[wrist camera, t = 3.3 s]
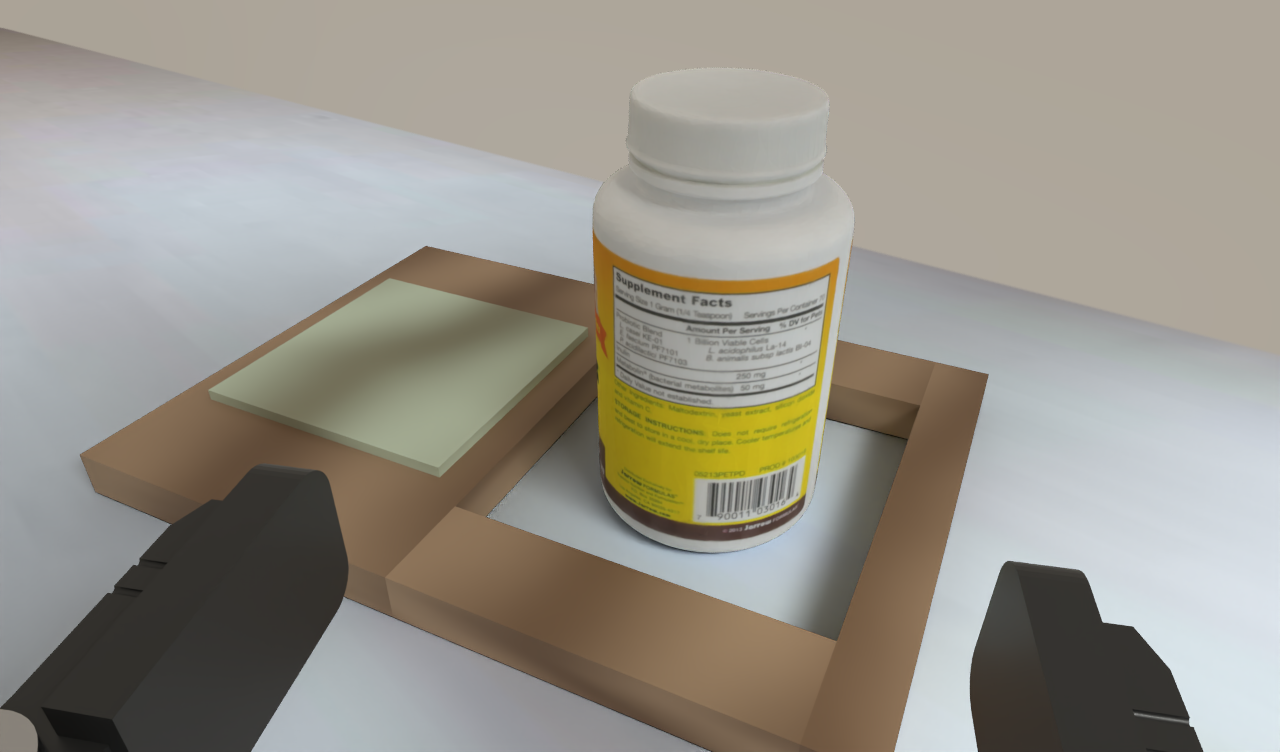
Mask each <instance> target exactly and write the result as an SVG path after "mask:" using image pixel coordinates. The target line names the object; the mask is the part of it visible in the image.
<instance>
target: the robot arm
mask: <svg viewBox="0 0 1280 752" xmlns="http://www.w3.org/2000/svg"><path fill="white" fill-rule="evenodd" d="M348 572H349V565H348V557H347V553H346V548H345V544H344V540H343V536H342V532H341V528H340V523H339V519H338V515H337V511H336V507H335V502H334V498H333V494H332V490H331V486H330V483H329V480H328V478H327V476H326V475H325V474H324V473H323V472H322V471H319V470H313V469H305V468H297V467H289V466H281V465H273V464H266V463H263V464H258V465H256V466H254V467H253V468H251V469H250V470H249V471H248V472H247V473H246V475H245V476H244V477H243V478H242V479H241V480H240V481H239V483H238V484H237V485H236V486H235V487H234V488H233V489H232V490H231V492H230V493H229V494H228V495H227V496H226V497H225V498H224V500H223V501H222V500H215V499H211V500H210V501H208V502H206V503H205V504H203V505H202V506H200V507H199V508H197V509H195V510H194V511H192V512H191V513H189V514H187V515H186V516H184V517H183V518H181V519H180V520H178V521H176V522H175V523H173V524H172V525H170V526H169V527H168V528H167V529H166V530H165V532H164V533H163V534H162V535H161V536H160V537H159V538H158V539H157V540H156V541H155V542H154V543H153V544H152V546H151V547H150V548H149V549H148V550H147V551H146V552H145V553H144V554H143V555H142V556H141V557H140V562H139V564H138V565H137V566H136V565H133V566H132V567H131V568H130V569H129V570H128V571H127V573H126V574H125V575H124V576H123V577H122V578H121V579H120V580H119V581H118V582H117V583H116V584H115V586H114V591H113V593H112V594H111V593H107V594H106V595H105V596H104V597H103V599H102V600H101V601H100V602H99V603H98V604H97V605H96V606H95V607H94V608H93V609H92V610H91V611H90V613H89V614H88V615H87V616H86V617H85V618H84V619H83V620H82V621H81V622H80V623H79V624H78V626H77V627H76V628H75V629H74V630H73V631H72V632H71V633H70V634H69V635H68V636H67V637H66V638H65V640H64V641H63V642H62V643H61V644H60V645H59V646H58V647H57V648H56V649H55V650H54V651H53V653H52V654H51V655H50V656H49V657H48V658H47V659H46V660H45V661H44V662H43V663H42V664H41V665H40V667H39V668H38V669H37V670H36V671H35V672H34V673H33V674H32V675H31V676H30V677H29V678H28V680H27V681H26V682H25V683H24V684H23V685H22V686H21V687H20V688H19V689H18V690H17V691H16V693H15V694H14V695H13V696H12V697H11V698H10V699H9V700H8V701H7V702H6V703H5V704H4V705H3V706H2V707H1V708H0V752H251V750H252V749H253V747H254V746H255V744H256V742H257V741H258V739H259V737H260V736H261V734H262V733H263V731H264V729H265V728H266V726H267V724H268V723H269V721H270V720H271V718H272V716H273V715H274V713H275V711H276V710H277V708H278V707H279V705H280V703H281V702H282V700H283V698H284V697H285V695H286V694H287V692H288V690H289V689H290V687H291V685H292V684H293V682H294V681H295V679H296V677H297V676H298V674H299V672H300V671H301V669H302V668H303V666H304V664H305V663H306V661H307V659H308V658H309V656H310V655H311V653H312V651H313V650H314V648H315V646H316V645H317V643H318V642H319V640H320V638H321V637H322V635H323V633H324V632H325V630H326V629H327V627H328V625H329V624H330V622H331V620H332V619H333V617H334V616H335V614H336V612H337V610H338V609H339V607H340V605H341V602H342V600H343V597H344V594H345V590H346V587H347V581H348ZM970 703H971V711H972V718H973V724H974V730H975V736H976V742H977V748H978V752H1203V749H1202V747H1201V744H1200V742H1199V740H1198V737H1197V735H1196V732H1195V730H1194V727H1190V725H1189V718H1190V717H1189V715H1188V712H1187V710H1186V707H1185V705H1184V702H1183V700H1182V697H1181V695H1180V692H1179V690H1178V688H1177V685H1176V683H1175V680H1174V678H1173V675H1172V673H1171V670H1170V669H1169V668H1168V667H1167V665H1166V664H1165V663H1164V662H1163V661H1162V660H1161V659H1160V657H1159V656H1158V655H1157V654H1156V653H1155V652H1154V650H1153V649H1152V648H1151V647H1150V646H1149V645H1148V644H1147V642H1146V641H1145V640H1144V639H1143V638H1142V637H1141V635H1140V634H1139V633H1138V632H1137V631H1136V630H1135V629H1134V627H1132V626H1125V625H1117V624H1110V623H1103V622H1102V620H1101V617H1100V614H1099V611H1098V608H1097V605H1096V602H1095V599H1094V596H1093V593H1092V590H1091V588H1090V585H1089V582H1088V580H1087V578H1086V576H1085V574H1084V573H1083V572H1082V571H1080V570H1076V569H1068V568H1060V567H1052V566H1045V565H1037V564H1029V563H1021V562H1013V561H1007V562H1006V563H1005V564H1004V565H1003V566H1002V568H1001V570H1000V573H999V576H998V579H997V582H996V585H995V588H994V591H993V594H992V597H991V600H990V603H989V607H988V610H987V613H986V616H985V619H984V622H983V625H982V628H981V631H980V634H979V637H978V640H977V643H976V646H975V650H974V653H973V658H972V664H971V673H970Z"/></svg>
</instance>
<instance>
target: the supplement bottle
mask: <svg viewBox="0 0 1280 752" xmlns="http://www.w3.org/2000/svg"><path fill="white" fill-rule="evenodd" d="M829 106H830V102H829V97H828V95H827V93H826V92H825V91H824V90H823V89H822V88H820V87H819V86H817V85H815V84H813V83H811V82H808V81H806V80H803V79H800V78H797V77H794V76H790V75H786V74H780V73H775V72H769V71H761V70H753V69H742V68H697V69H685V70H677V71H670V72H665V73H660V74H657V75H653V76H650V77H647V78H645V79H643V80H641V81H639V82H638V83H636V84H635V85H634V86H633V88H632V89H631V93H630V102H629V125H628V127H629V128H628V136H627V138H626V146H627V148H628V149H629V164H628V165H626V166H625V167H623V168H621V169H620V170H618V171H616V172H615V173H614V174H612V175H611V176H610V177H609V178H608V179H607V180H606V181H605V182H604V183H603V185H602V186H601V188H600V189H599V191H598V193H597V195H596V197H595V201H594V205H593V258H594V291H595V320H596V356H597V385H598V426H599V460H600V475H601V481H602V486H603V490H604V493H605V495H606V497H607V499H608V501H609V503H610V504H611V506H612V507H613V509H614V510H615V512H616V513H617V514H618V515H619V516H620V517H621V518H622V519H623V520H624V521H625V522H626V523H627V524H628V525H630V526H631V527H632V528H633V529H635V530H636V531H638V532H640V533H641V534H643V535H645V536H647V537H648V538H650V539H653V540H655V541H657V542H660V543H662V544H665V545H668V546H671V547H675V548H679V549H683V550H689V551H696V552H708V553H719V552H733V551H739V550H744V549H748V548H752V547H755V546H758V545H761V544H764V543H766V542H769V541H771V540H773V539H775V538H777V537H778V536H780V535H782V534H783V533H785V532H786V531H787V530H789V529H790V528H791V527H792V526H793V525H794V524H795V523H796V522H797V521H798V520H799V519H800V518H801V517H802V515H803V514H804V513H805V511H806V509H807V508H808V506H809V504H810V502H811V499H812V497H813V493H814V489H815V484H816V479H817V473H818V466H819V461H820V453H821V446H822V440H823V433H824V427H825V420H826V413H827V407H828V400H829V394H830V387H831V381H832V374H833V367H834V360H835V353H836V346H837V339H838V333H839V326H840V319H841V313H842V306H843V299H844V293H845V287H846V281H847V274H848V267H849V261H850V254H851V248H852V242H853V233H854V221H855V217H854V210H853V206H852V204H851V201H850V199H849V197H848V195H847V194H846V193H845V191H844V190H843V189H842V188H841V187H840V185H838V183H837V182H836V181H835V180H833V179H832V178H831V177H829V176H828V175H827V174H825V173H823V168H824V160H823V158H824V157H825V155H826V151H827V146H826V132H827V123H828V116H829Z"/></svg>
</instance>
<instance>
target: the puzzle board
mask: <svg viewBox="0 0 1280 752" xmlns="http://www.w3.org/2000/svg"><path fill="white" fill-rule="evenodd" d="M988 375H989V374H985V373H980V372H976V371H971V370H967V369H963V368H958V367H954V366H950V365H945V364H941V363H936V362H932V361H928V360H923V359H919V358H914V357H910V356H906V355H901V354H897V353H893V352H888V351H884V350H879V349H875V348H871V347H866V346H862V345H858V344H853V343H849V342H844V341H840V340H837V346H836V353H835V360H834V367H833V374H832V381H831V387H830V394H829V400H828V407H827V413H826V418H828V419H832V420H836V421H840V422H844V423H848V424H851V425H855V426H859V427H863V428H867V429H870V430H874V431H878V432H882V433H886V434H890V435H893V436H897V437H901V438H905V439H908V442H907V445H906V447H905V450H904V453H903V456H902V459H901V462H900V464H899V467H898V470H897V473H896V476H895V478H894V481H893V484H892V487H891V490H890V493H889V495H888V498H887V501H886V504H885V507H884V510H883V512H882V515H881V518H880V521H879V524H878V526H877V529H876V532H875V535H874V538H873V541H872V543H871V546H870V549H869V552H868V555H867V557H866V560H865V563H864V566H863V569H862V572H861V574H860V577H859V580H858V583H857V586H856V588H855V591H854V594H853V597H852V600H851V603H850V605H849V608H848V611H847V614H846V617H845V619H844V622H843V625H842V628H841V631H840V634H839V636H838V639H837V641H835V640H832V639H829V638H827V637H824V636H821V635H818V634H815V633H813V632H810V631H807V630H804V629H801V628H798V627H796V626H793V625H790V624H787V623H784V622H781V621H779V620H776V619H773V618H770V617H767V616H764V615H762V614H759V613H756V612H753V611H750V610H747V609H745V608H742V607H739V606H736V605H733V604H730V603H728V602H725V601H722V600H719V599H716V598H713V597H711V596H708V595H705V594H702V593H699V592H696V591H694V590H691V589H688V588H685V587H682V586H679V585H677V584H674V583H671V582H668V581H665V580H662V579H660V578H657V577H654V576H651V575H648V574H645V573H643V572H640V571H637V570H634V569H631V568H628V567H626V566H623V565H620V564H617V563H614V562H611V561H609V560H606V559H603V558H600V557H597V556H595V555H592V554H589V553H586V552H583V551H580V550H578V549H575V548H572V547H569V546H566V545H563V544H561V543H558V542H555V541H552V540H549V539H546V538H544V537H541V536H538V535H535V534H532V533H529V532H527V531H524V530H521V529H518V528H515V527H512V526H510V525H507V524H504V523H501V522H498V521H495V520H493V519H490V518H487V517H486V516H487V515H488V514H489V513H490V512H491V511H492V510H493V508H494V507H495V506H496V505H497V504H498V503H499V502H500V501H501V500H502V499H503V498H504V497H505V496H506V494H507V493H508V492H509V491H510V490H511V489H512V488H513V487H514V486H515V485H516V484H517V483H518V481H519V480H520V479H521V478H522V477H523V476H524V475H525V474H526V473H527V472H528V471H529V470H530V468H531V467H532V466H533V465H534V464H535V463H536V462H537V461H538V460H539V459H540V458H541V457H542V455H543V454H544V453H545V452H546V451H547V450H548V449H549V448H550V447H551V446H552V445H553V444H554V442H555V441H556V440H557V439H558V438H559V437H560V436H561V435H562V434H563V433H564V432H565V431H566V430H567V428H568V427H569V426H570V425H571V424H572V423H573V422H574V421H575V420H576V419H577V418H578V417H579V415H580V414H581V413H582V412H583V411H584V410H585V409H586V408H587V407H588V406H589V405H590V404H591V402H592V401H593V400H594V399H595V398H596V397H597V396H598V385H597V356H596V320H595V291H594V284H590V283H586V282H582V281H577V280H573V279H568V278H564V277H560V276H555V275H551V274H546V273H542V272H538V271H533V270H529V269H525V268H520V267H516V266H511V265H507V264H503V263H498V262H494V261H490V260H485V259H481V258H476V257H472V256H468V255H463V254H459V253H454V252H450V251H446V250H441V249H437V248H433V247H428V246H425V247H423V248H422V249H420V250H418V251H417V252H415V253H413V254H412V255H410V256H409V257H407V258H405V259H404V260H402V261H400V262H399V263H397V264H395V265H394V266H392V267H390V268H389V269H387V270H385V271H384V272H382V273H380V274H379V275H377V276H375V277H374V278H372V279H370V280H369V281H367V282H365V283H364V284H362V285H360V286H359V287H357V288H355V289H354V290H352V291H350V292H349V293H347V294H346V295H344V296H342V297H341V298H339V299H337V300H336V301H334V302H332V303H331V304H329V305H327V306H326V307H324V308H322V309H321V310H319V311H317V312H316V313H314V314H312V315H311V316H309V317H307V318H306V319H304V320H302V321H301V322H299V323H297V324H296V325H294V326H292V327H291V328H289V329H287V330H286V331H284V332H283V333H281V334H279V335H278V336H276V337H274V338H273V339H271V340H269V341H268V342H266V343H264V344H263V345H261V346H259V347H258V348H256V349H254V350H253V351H251V352H249V353H248V354H246V355H244V356H243V357H241V358H239V359H238V360H236V361H234V362H233V363H231V364H229V365H228V366H226V367H224V368H223V369H221V370H220V371H218V372H216V373H215V374H213V375H211V376H210V377H208V378H206V379H205V380H203V381H201V382H200V383H198V384H196V385H195V386H193V387H191V388H190V389H188V390H186V391H185V392H183V393H181V394H180V395H178V396H176V397H175V398H173V399H171V400H170V401H168V402H166V403H165V404H163V405H161V406H160V407H158V408H157V409H155V410H153V411H152V412H150V413H148V414H147V415H145V416H143V417H142V418H140V419H138V420H137V421H135V422H133V423H132V424H130V425H128V426H127V427H125V428H123V429H122V430H120V431H118V432H117V433H115V434H113V435H112V436H110V437H108V438H107V439H105V440H103V441H102V442H100V443H98V444H97V445H95V446H94V447H92V448H90V449H89V450H87V451H85V452H84V453H82V454H80V457H81V459H82V461H83V464H84V466H85V468H86V471H87V473H88V475H89V478H90V480H91V482H92V485H93V487H94V489H95V492H97V493H99V494H102V495H104V496H107V497H109V498H111V499H114V500H116V501H118V502H121V503H123V504H126V505H128V506H130V507H133V508H135V509H137V510H140V511H142V512H145V513H147V514H149V515H152V516H154V517H156V518H159V519H161V520H164V521H166V522H168V523H171V524H173V523H175V522H176V521H178V520H180V519H181V518H183V517H184V516H186V515H187V514H189V513H191V512H192V511H194V510H195V509H197V508H199V507H200V506H202V505H203V504H205V503H206V502H208V501H210V500H211V499H215V500H222V501H223V500H224V498H225V497H226V496H227V495H228V494H229V493H230V492H231V490H232V489H233V488H234V487H235V486H236V485H237V484H238V483H239V481H240V480H241V479H242V478H243V477H244V476H245V475H246V473H247V472H248V471H249V470H250V469H251V468H253V467H254V466H256V465H258V464H263V463H266V464H273V465H281V466H289V467H297V468H305V469H313V470H319V471H322V472H323V473H324V474H325V475H326V476H327V478H328V480H329V483H330V486H331V490H332V494H333V498H334V502H335V507H336V511H337V515H338V519H339V523H340V528H341V532H342V536H343V540H344V544H345V548H346V553H347V557H348V565H349V572H348V581H347V587H346V590H345V594H344V597H347V598H349V599H351V600H354V601H356V602H358V603H361V604H363V605H366V606H368V607H370V608H373V609H375V610H377V611H380V612H382V613H385V614H387V615H389V616H392V617H394V618H397V619H399V620H401V621H404V622H406V623H408V624H411V625H413V626H416V627H418V628H420V629H423V630H425V631H427V632H430V633H432V634H435V635H437V636H439V637H442V638H444V639H446V640H449V641H451V642H454V643H456V644H458V645H461V646H463V647H465V648H468V649H470V650H473V651H475V652H477V653H480V654H482V655H484V656H487V657H489V658H492V659H494V660H496V661H499V662H501V663H503V664H506V665H508V666H511V667H513V668H515V669H518V670H520V671H523V672H525V673H527V674H530V675H532V676H534V677H537V678H539V679H542V680H544V681H546V682H549V683H551V684H553V685H556V686H558V687H561V688H563V689H565V690H568V691H570V692H572V693H575V694H577V695H580V696H582V697H584V698H587V699H589V700H591V701H594V702H596V703H599V704H601V705H603V706H606V707H608V708H610V709H613V710H615V711H618V712H620V713H622V714H625V715H627V716H629V717H632V718H634V719H637V720H639V721H641V722H644V723H646V724H648V725H651V726H653V727H656V728H658V729H660V730H663V731H665V732H668V733H670V734H672V735H675V736H677V737H679V738H682V739H684V740H687V741H689V742H691V743H694V744H696V745H698V746H701V747H703V748H706V749H708V750H710V751H713V752H894V750H895V746H896V742H897V738H898V734H899V730H900V726H901V722H902V718H903V714H904V710H905V706H906V702H907V698H908V694H909V690H910V686H911V682H912V678H913V674H914V670H915V666H916V662H917V658H918V654H919V650H920V646H921V642H922V638H923V634H924V630H925V626H926V622H927V618H928V614H929V610H930V606H931V602H932V598H933V594H934V590H935V586H936V582H937V578H938V574H939V570H940V566H941V562H942V558H943V554H944V550H945V546H946V542H947V538H948V535H949V531H950V527H951V523H952V519H953V515H954V511H955V507H956V503H957V499H958V495H959V491H960V487H961V483H962V479H963V475H964V471H965V467H966V463H967V459H968V455H969V451H970V447H971V443H972V439H973V435H974V431H975V427H976V423H977V419H978V415H979V411H980V407H981V403H982V399H983V395H984V391H985V387H986V383H987V379H988Z"/></svg>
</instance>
